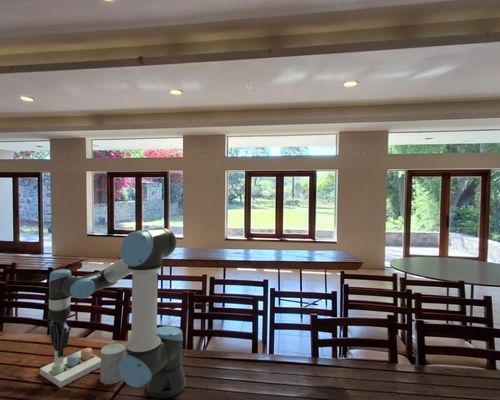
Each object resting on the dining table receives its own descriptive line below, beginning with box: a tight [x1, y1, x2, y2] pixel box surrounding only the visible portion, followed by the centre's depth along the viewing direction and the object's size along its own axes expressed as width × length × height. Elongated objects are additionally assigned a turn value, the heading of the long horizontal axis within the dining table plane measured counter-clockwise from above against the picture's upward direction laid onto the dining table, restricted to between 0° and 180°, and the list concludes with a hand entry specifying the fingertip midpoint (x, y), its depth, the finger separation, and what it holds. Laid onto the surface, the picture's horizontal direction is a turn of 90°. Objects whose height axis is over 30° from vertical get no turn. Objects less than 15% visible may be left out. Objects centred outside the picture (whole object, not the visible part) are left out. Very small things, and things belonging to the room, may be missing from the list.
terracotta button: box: [80, 347, 93, 362], centre depth 131 cm, size 4×4×4 cm
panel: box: [39, 349, 101, 388], centre depth 126 cm, size 16×18×2 cm
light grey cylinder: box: [99, 342, 127, 385], centre depth 122 cm, size 10×10×12 cm
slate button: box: [66, 353, 79, 369], centre depth 126 cm, size 4×4×4 cm
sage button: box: [52, 363, 64, 376], centre depth 121 cm, size 4×4×4 cm
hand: (58, 363), depth 120 cm, fingers closed
